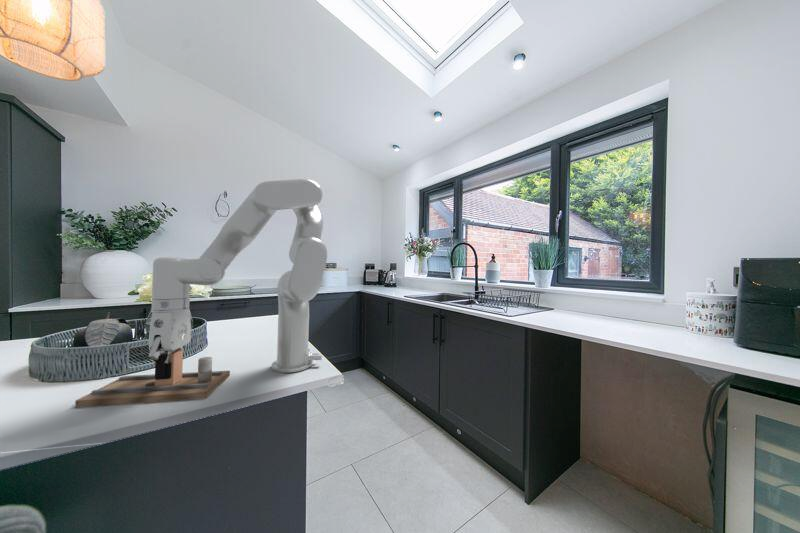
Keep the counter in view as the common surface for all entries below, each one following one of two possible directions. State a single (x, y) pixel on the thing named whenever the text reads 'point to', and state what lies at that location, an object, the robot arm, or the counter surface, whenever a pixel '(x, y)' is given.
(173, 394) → the board
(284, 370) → the robot arm
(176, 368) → the block
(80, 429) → the counter surface
